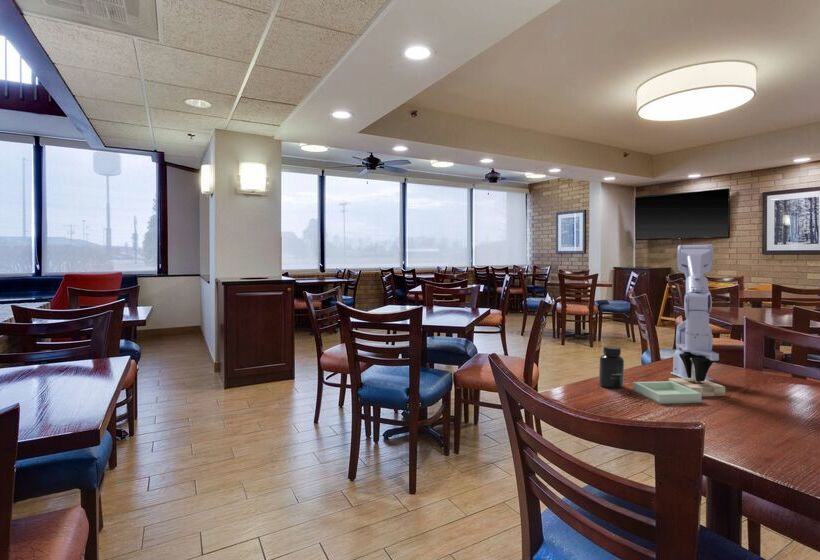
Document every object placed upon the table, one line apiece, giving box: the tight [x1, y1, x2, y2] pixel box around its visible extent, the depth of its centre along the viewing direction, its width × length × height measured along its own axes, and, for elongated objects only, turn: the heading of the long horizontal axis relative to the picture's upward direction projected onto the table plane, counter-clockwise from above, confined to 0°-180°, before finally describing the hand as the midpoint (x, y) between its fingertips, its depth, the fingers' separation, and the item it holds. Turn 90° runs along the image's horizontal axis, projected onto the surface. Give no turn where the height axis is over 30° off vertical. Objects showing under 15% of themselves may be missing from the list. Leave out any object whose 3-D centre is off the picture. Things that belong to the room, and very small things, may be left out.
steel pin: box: [690, 358, 701, 384], centre depth 127 cm, size 3×3×10 cm
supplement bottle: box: [598, 345, 625, 389], centre depth 133 cm, size 7×7×12 cm
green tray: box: [632, 380, 703, 405], centre depth 122 cm, size 12×12×2 cm
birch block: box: [667, 377, 726, 397], centre depth 127 cm, size 10×10×2 cm
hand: (695, 379), depth 127 cm, fingers closed on steel pin, 3 cm apart
